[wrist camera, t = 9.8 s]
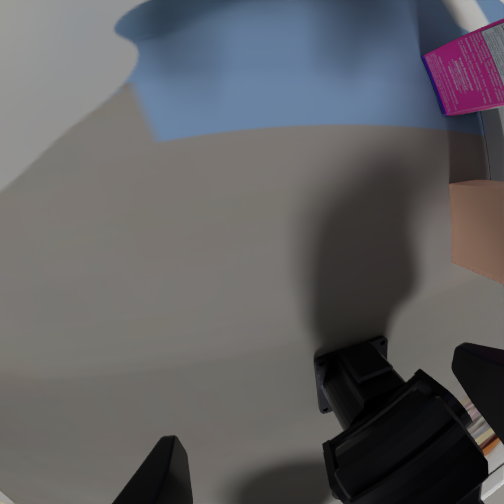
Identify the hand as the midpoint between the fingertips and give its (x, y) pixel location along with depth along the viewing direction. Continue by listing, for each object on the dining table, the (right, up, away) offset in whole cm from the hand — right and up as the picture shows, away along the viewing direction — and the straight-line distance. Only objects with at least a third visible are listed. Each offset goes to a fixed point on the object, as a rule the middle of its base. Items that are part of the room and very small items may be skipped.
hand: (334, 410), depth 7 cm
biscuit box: (+17, +7, +14) cm, 23 cm away
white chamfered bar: (+74, -70, +41) cm, 110 cm away
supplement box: (+15, +19, +11) cm, 27 cm away
